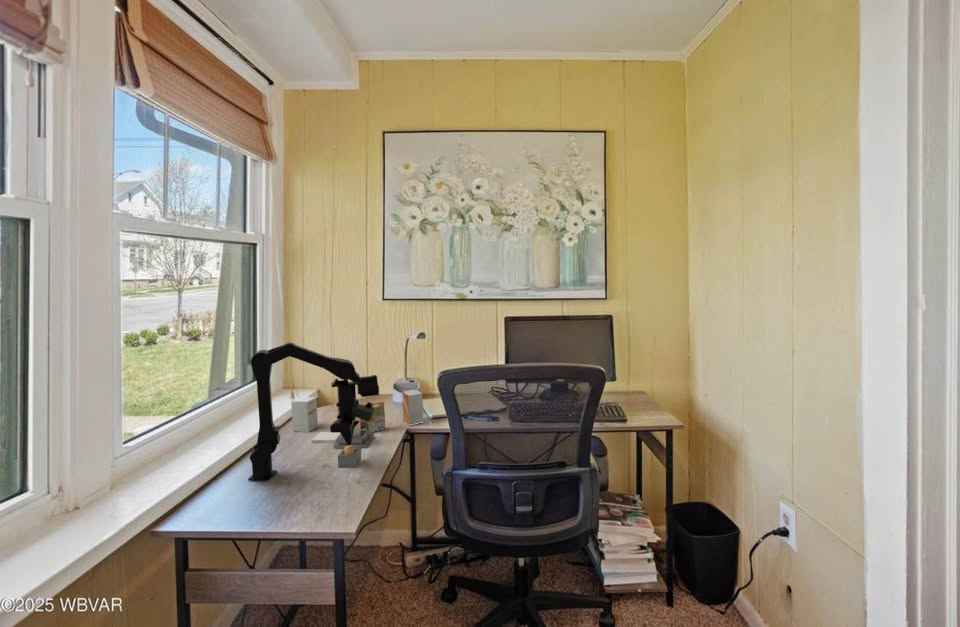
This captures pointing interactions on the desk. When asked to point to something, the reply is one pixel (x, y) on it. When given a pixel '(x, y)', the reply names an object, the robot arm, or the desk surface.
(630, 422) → the desk surface
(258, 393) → the robot arm
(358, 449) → the block
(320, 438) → the pad
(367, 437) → the frame
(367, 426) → the crayon box
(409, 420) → the small box
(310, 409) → the supplement box
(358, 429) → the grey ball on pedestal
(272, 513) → the desk surface
